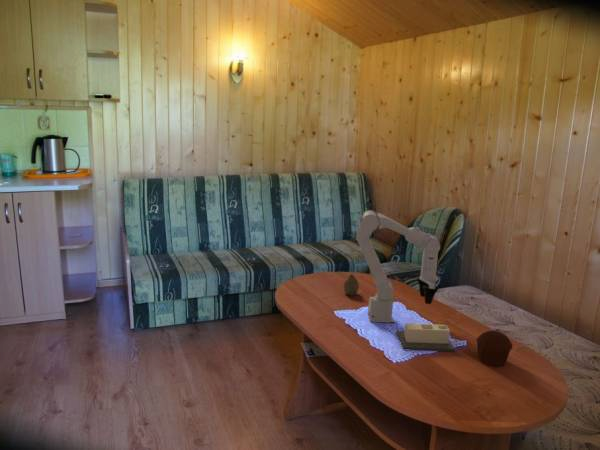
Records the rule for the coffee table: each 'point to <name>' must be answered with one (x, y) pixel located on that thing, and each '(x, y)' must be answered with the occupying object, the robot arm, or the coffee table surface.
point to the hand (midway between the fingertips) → (425, 300)
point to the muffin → (493, 348)
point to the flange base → (424, 345)
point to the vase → (351, 285)
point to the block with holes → (426, 333)
